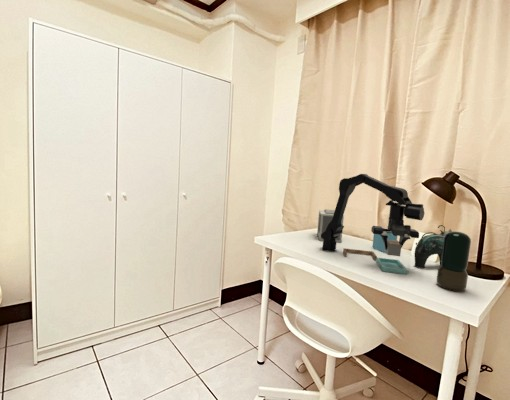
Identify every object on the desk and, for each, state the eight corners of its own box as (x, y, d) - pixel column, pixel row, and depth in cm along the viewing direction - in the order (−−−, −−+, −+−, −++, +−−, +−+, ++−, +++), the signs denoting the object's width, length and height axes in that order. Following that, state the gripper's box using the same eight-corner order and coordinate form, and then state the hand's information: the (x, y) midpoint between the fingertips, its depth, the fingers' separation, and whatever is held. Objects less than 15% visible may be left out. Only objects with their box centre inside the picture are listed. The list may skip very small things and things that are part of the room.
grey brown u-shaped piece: (344, 256, 142) (344, 253, 142) (343, 251, 150) (343, 248, 150) (376, 260, 139) (376, 256, 138) (373, 255, 147) (373, 251, 147)
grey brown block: (387, 254, 125) (389, 243, 124) (384, 249, 134) (385, 238, 133) (400, 256, 124) (401, 244, 123) (396, 250, 132) (397, 239, 132)
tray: (382, 271, 124) (382, 267, 123) (375, 261, 137) (376, 257, 137) (407, 274, 122) (407, 270, 121) (398, 263, 135) (398, 259, 135)
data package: (395, 253, 152) (398, 231, 151) (389, 254, 151) (391, 232, 149) (377, 247, 163) (380, 227, 162) (372, 248, 161) (374, 227, 160)
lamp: (455, 294, 104) (463, 235, 101) (430, 283, 112) (437, 229, 110) (471, 290, 108) (479, 234, 105) (446, 281, 116) (453, 228, 114)
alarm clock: (316, 234, 188) (319, 207, 186) (337, 236, 187) (339, 208, 185) (319, 241, 170) (321, 211, 168) (341, 243, 169) (344, 213, 166)
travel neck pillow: (445, 264, 139) (450, 224, 137) (457, 268, 133) (463, 227, 130) (410, 265, 135) (415, 223, 132) (421, 270, 128) (426, 226, 126)
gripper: (377, 217, 121) (373, 252, 123) (425, 221, 117) (421, 258, 119) (372, 213, 132) (369, 246, 133) (416, 217, 128) (412, 250, 130)
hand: (392, 250), depth 128 cm, fingers closed on grey brown block, 5 cm apart
